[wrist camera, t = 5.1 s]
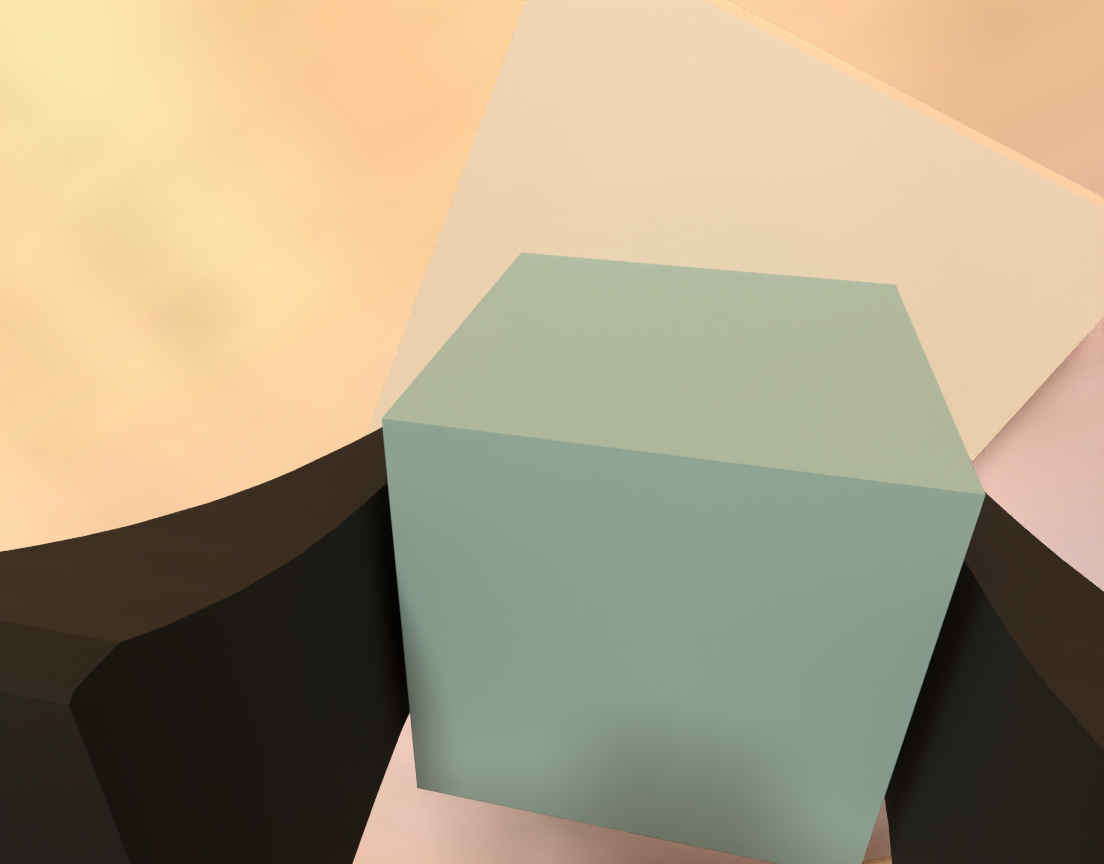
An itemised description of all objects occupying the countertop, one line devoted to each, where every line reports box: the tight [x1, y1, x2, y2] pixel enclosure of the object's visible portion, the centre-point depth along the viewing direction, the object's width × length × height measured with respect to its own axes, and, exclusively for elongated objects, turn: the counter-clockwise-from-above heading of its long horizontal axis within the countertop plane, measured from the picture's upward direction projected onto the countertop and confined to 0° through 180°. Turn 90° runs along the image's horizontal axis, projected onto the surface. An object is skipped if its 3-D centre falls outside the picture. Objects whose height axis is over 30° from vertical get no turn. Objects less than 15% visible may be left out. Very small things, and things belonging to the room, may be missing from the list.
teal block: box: [382, 253, 985, 864], centre depth 10 cm, size 5×5×5 cm
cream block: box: [366, 0, 1104, 462], centre depth 16 cm, size 10×10×3 cm
